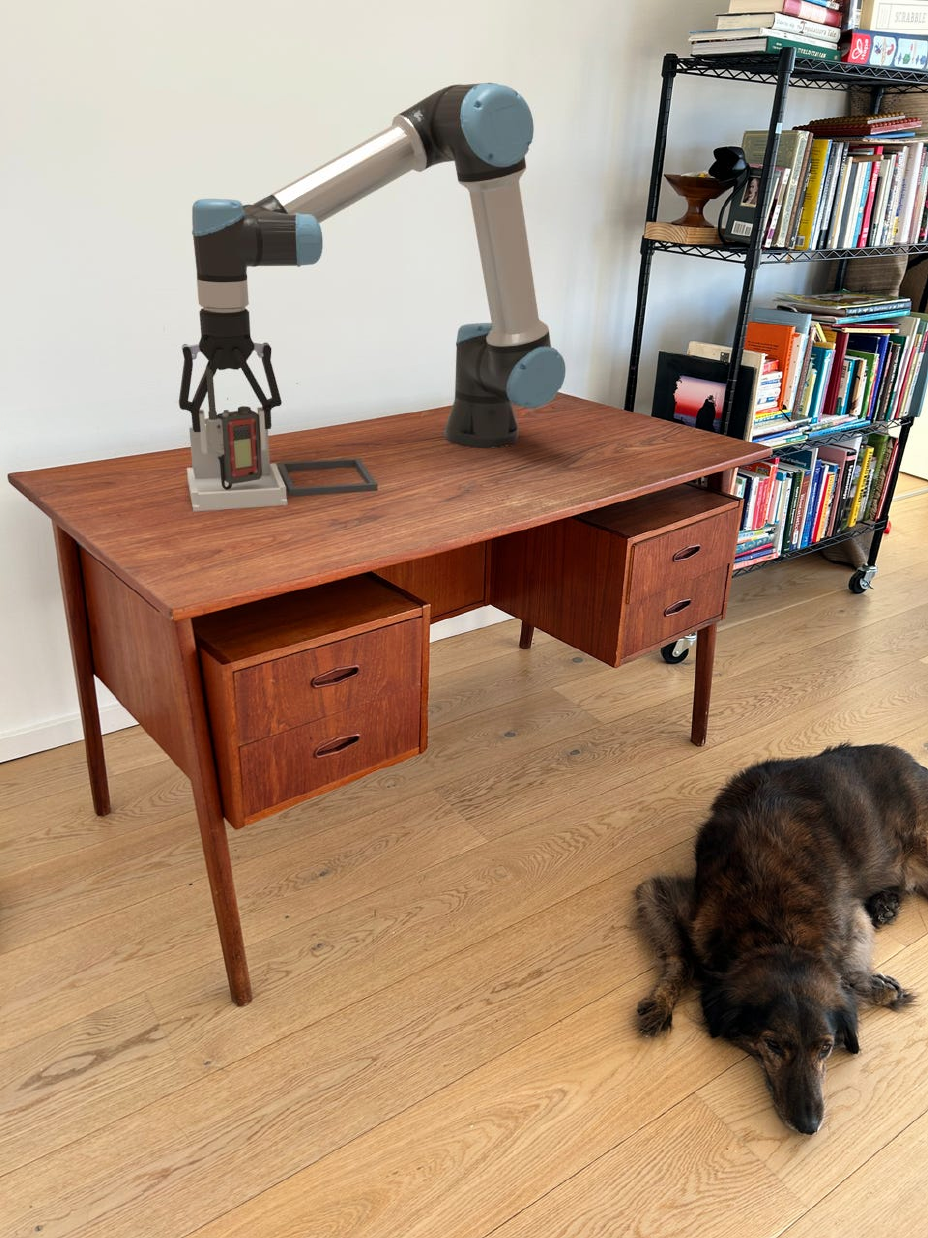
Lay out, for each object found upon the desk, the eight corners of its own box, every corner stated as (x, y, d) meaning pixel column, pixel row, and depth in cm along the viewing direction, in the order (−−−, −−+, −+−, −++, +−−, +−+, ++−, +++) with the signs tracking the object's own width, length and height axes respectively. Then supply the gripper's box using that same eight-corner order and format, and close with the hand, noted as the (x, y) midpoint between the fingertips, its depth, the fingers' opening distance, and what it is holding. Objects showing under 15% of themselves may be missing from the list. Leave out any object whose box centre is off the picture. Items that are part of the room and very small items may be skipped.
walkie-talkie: (215, 494, 158) (205, 371, 149) (204, 486, 161) (194, 365, 152) (264, 485, 163) (257, 365, 154) (253, 478, 166) (245, 360, 157)
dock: (275, 477, 172) (272, 422, 167) (287, 506, 159) (285, 447, 154) (188, 482, 167) (182, 426, 163) (193, 512, 155) (188, 452, 150)
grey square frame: (359, 466, 180) (359, 458, 179) (377, 492, 167) (377, 484, 166) (277, 470, 175) (277, 462, 175) (290, 498, 163) (289, 489, 162)
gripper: (290, 303, 156) (295, 439, 166) (150, 304, 149) (165, 446, 160) (297, 311, 149) (302, 452, 159) (152, 312, 143) (167, 459, 153)
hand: (233, 449), depth 160 cm, fingers closed on walkie-talkie, 9 cm apart
